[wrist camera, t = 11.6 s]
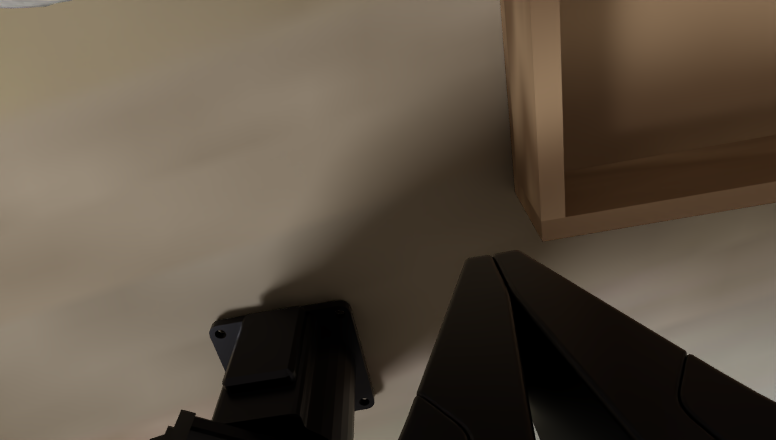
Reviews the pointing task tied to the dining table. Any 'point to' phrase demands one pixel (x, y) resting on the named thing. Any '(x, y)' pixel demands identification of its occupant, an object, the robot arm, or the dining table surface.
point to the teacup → (28, 3)
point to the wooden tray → (639, 109)
